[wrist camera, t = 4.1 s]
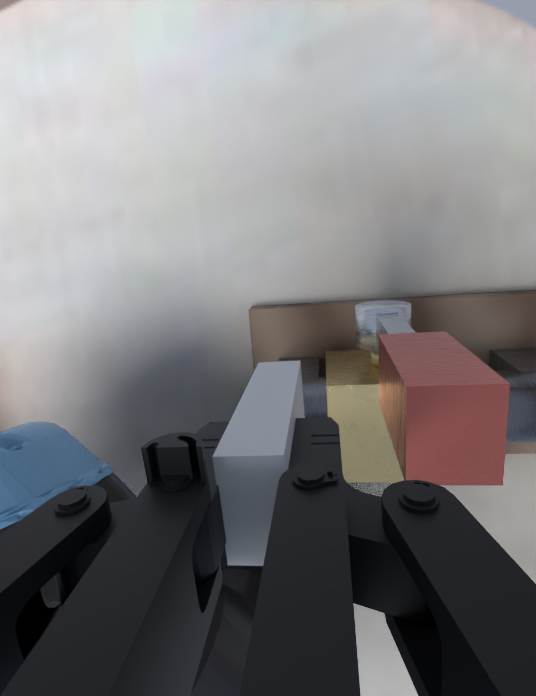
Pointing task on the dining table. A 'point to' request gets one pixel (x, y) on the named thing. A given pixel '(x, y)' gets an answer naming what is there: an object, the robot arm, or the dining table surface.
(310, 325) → the base board
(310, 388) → the valve pipe
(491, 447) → the valve lever
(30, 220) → the dining table surface
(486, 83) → the dining table surface
